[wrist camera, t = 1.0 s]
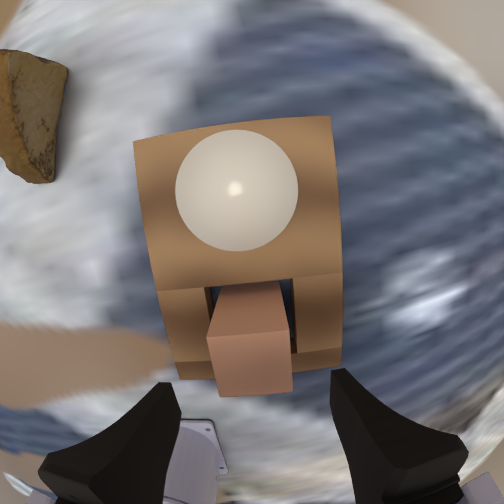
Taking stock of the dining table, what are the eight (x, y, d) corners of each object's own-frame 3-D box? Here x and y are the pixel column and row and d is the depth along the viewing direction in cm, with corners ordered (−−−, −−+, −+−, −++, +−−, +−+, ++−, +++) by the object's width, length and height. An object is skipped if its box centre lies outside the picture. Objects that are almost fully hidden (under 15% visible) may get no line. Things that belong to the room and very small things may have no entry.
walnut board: (335, 351, 22) (340, 365, 20) (185, 364, 22) (180, 379, 20) (322, 121, 18) (329, 115, 16) (144, 144, 18) (133, 141, 16)
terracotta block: (283, 330, 21) (292, 391, 15) (229, 335, 22) (219, 397, 15) (278, 280, 20) (289, 329, 14) (221, 286, 21) (206, 337, 14)
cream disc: (301, 242, 18) (303, 244, 17) (187, 254, 18) (184, 257, 17) (289, 125, 16) (290, 123, 15) (171, 141, 16) (168, 139, 16)
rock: (58, 214, 17) (106, 74, 14) (-50, 210, 10) (-15, 45, 7) (42, 160, 22) (77, 63, 19) (-32, 152, 15) (-1, 45, 12)
